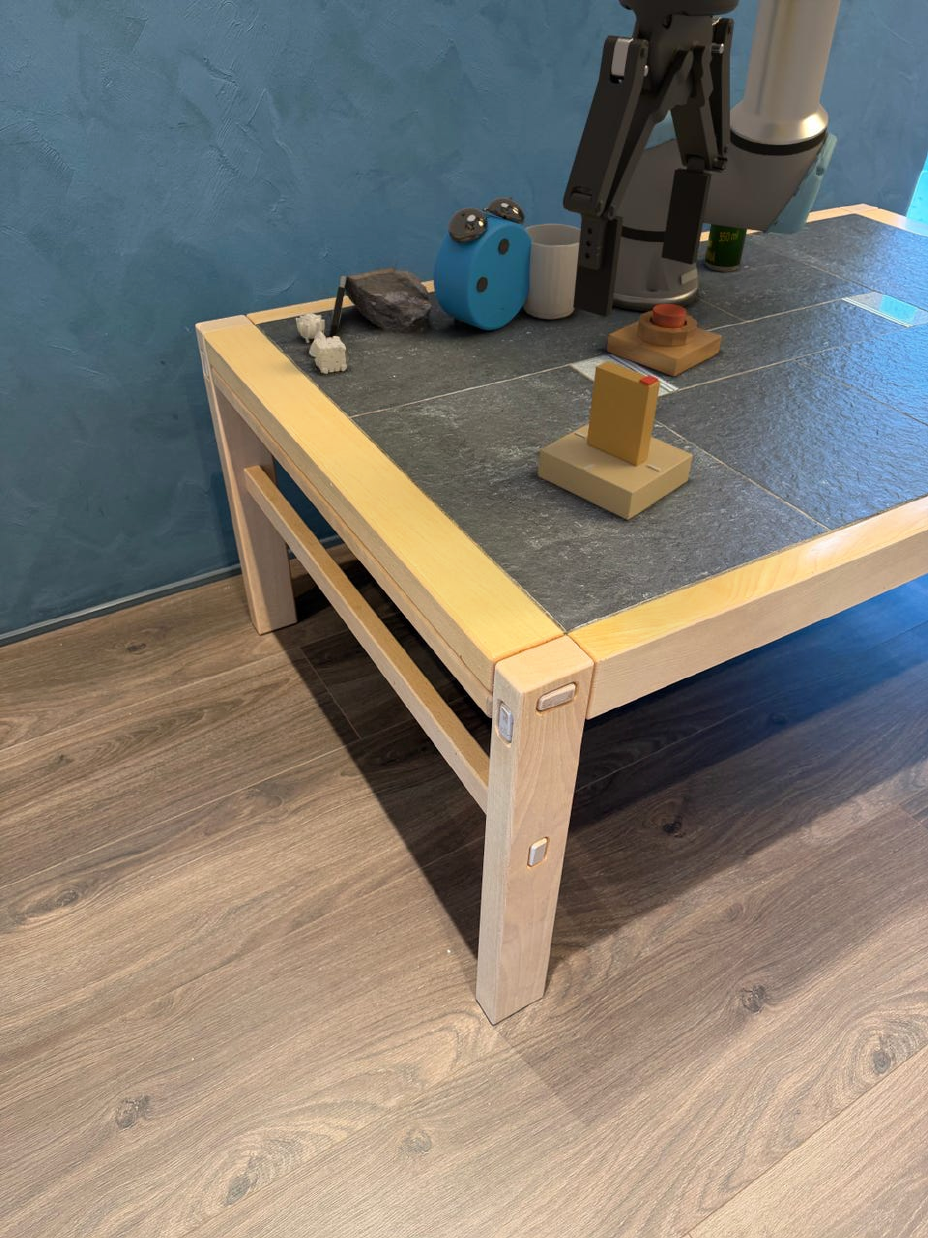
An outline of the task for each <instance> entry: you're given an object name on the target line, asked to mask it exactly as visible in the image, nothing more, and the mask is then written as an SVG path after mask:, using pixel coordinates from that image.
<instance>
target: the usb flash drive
mask: <svg viewBox="0 0 928 1238" xmlns="http://www.w3.org/2000/svg"><path fill="white" fill-rule="evenodd" d="M340 278H341V279H340V282H339V283H340V285H339V286H337V287H338V288H337V292H336V296H335V301H334V305H333V310H332V315H331V320H330V321H331V322H330V326H329V327H330V330H329V333H328V335H329V336H328V337H329V338H330V337H331V338H332V337H333V336H337V335H338V331H339V327H340V323H341V318H342V311H343V306H344V300H345V299H344V298H345V295H346V290H345V288H344V286H345V283H346V278H347V276H345V275H341V277H340ZM337 337H338V336H337Z"/></svg>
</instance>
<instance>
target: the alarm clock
mask: <svg viewBox="0 0 928 1238" xmlns="http://www.w3.org/2000/svg"><path fill="white" fill-rule="evenodd" d="M513 199H514V198H513V197H512V196H510V197H503V196H502V197H497V198H494V199H493V200H491V201H490V202H489V203H488V204H487V206H485V207H483V208H482V210H481V209H479V208H477V207H473V206H472V207H471V206H468V207H464V208H463V207H462V208H461V209H459V210H457V211H455V213H454V214H453V215H452V216H451V217H450V220H449V222H448V225H447V226H448V227H447V232H446V234H445V236H444V237H443V239H442V240H441V243H440V245H439V248H438V251H437V253H436V254H437V255H436V258H435V261H434V267H433V279H432V280H433V290H434V294H435V297H436V300H437V303H438V305H439V307H440V309H441V310H442V312H444V313H445V314H446V315H447V316H449V317H450V318H452V319H454V320H453V327H454V328H456V327H457V325H458V323H459V322H462V323H465V324H467V325H470V326H473V327H475V328H478V329H480V330H483V331H494V330H498V329H500V328H502V327H504V326H506V325H508V324H509V323H510V322H512V320H513V319H514V318H515V317H516V316H517V314H518V313H519V312H520V310H521V309H522V307H523V304H524V302H525V300H526V298H527V296H528V293H529V291H530V254H531V243H532V241H531V238H530V236H529V234H528V233H527V231H526V230H525V227H523V226H522V225H524V223H525V218H526V215H525V211H524V208H523V207H522V206H521V204H519V202H518V201H515V200H513ZM488 213H490V214H488ZM491 214H492V215H491Z"/></svg>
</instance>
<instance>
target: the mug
mask: <svg viewBox="0 0 928 1238" xmlns="http://www.w3.org/2000/svg"><path fill="white" fill-rule="evenodd" d="M524 229H525V230H526V231H527V233H528V234H529V236H530V238H531V241H532V243H531V254H530V291H529V293H528V296H527V298H526V300H525V302H524V304H523V306H522V307H523V310H524V311H525V312H526V314H528V315H530V316H532V317H534V318H537V319H541V320H557V319H563V318H566V317H568V316H570V315H571V314H572V313H573V312H574V310H575V309H576V308H573V304H574V293H575V283H576V272H577V262H578V252H579V241H580V231H581V228H579V227H576V226H573V225H569V224H562V223H541V224H533V225H531V226H527V227H524Z"/></svg>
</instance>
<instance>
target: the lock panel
mask: <svg viewBox="0 0 928 1238" xmlns="http://www.w3.org/2000/svg"><path fill="white" fill-rule="evenodd" d="M588 428H589V423H587V424H585V425H583V426H581V427H580V428H577V429H576V430H574V431H572V432H570V433H568V434H567V435H565V436H563V437H560V438H559V439H557V440H556V441H553V442H552V443H550V444H548V445H546V446H544V447H542V448H540V450H539V456H538V457H539V459H538V469H537V470H538V471H537V476H538V477H539V478H541V479H543V480H545V481H547V482H549V483H551V484H553V485H556V486H557V487H559V488H561V489H563V490H565V491H567V492H570V493H572V494H574V495H575V496H578V497H580V498H582V499H584V500H586V501H587V502H590V503H591V504H594V505H596V506H598V507H600V508H602V509H604V510H606V511H608V512H610V513H613V514H614V515H616V516H618V517H620V518H623V519H625V520H627V521H628V520H630V519H632V518H633V517H635V516H636V515H638V514H640V513H641V512H642V511H644V510H646V509H647V508H649V507H651V506H652V505H653V504H654V503H656V502H657V501H659V500H661V499H662V498H664V497H665V496H667V495H668V494H670V493H672V492H673V491H675V490H676V489H678V488H680V487H681V486H682V485H684V484H686V483H687V482H688V481H689V476H690V471H691V467H692V462H693V457H694V454H693V453H690V452H689V451H686V450H684V449H681V448H680V447H677V446H674V445H672V444H669V443H667V442H665V441H662V440H660V439H658V438H655V437H653V436H651V440H650V446H649V452H648V458H647V460H645V461H644V462H642V463H640V464H639V465H637V466H636V465H634V464H631V463H629V462H627V461H625V460H622V459H620V458H618V457H616V456H614V455H611V454H609V453H607V452H605V451H603V450H600V449H598V448H596V447H594V446H591V445H589V444H587V437H588Z"/></svg>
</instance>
